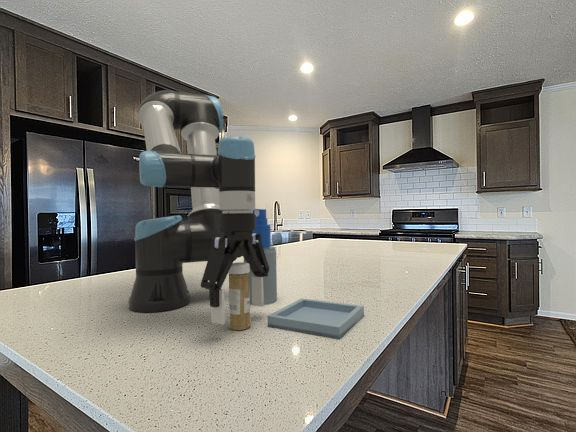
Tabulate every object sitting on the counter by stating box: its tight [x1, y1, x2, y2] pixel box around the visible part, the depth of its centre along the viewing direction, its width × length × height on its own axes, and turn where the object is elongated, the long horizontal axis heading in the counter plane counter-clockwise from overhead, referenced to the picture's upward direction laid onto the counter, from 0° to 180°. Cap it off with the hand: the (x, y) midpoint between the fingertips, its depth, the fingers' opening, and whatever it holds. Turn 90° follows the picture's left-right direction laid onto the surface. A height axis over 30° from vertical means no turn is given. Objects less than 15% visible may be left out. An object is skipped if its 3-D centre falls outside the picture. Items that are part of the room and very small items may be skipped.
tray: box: [266, 297, 365, 340], centre depth 74 cm, size 16×16×2 cm
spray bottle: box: [243, 208, 278, 306], centre depth 92 cm, size 9×9×25 cm
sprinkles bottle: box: [227, 261, 251, 331], centre depth 71 cm, size 5×5×14 cm
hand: (239, 313), depth 71 cm, fingers open, 13 cm apart
